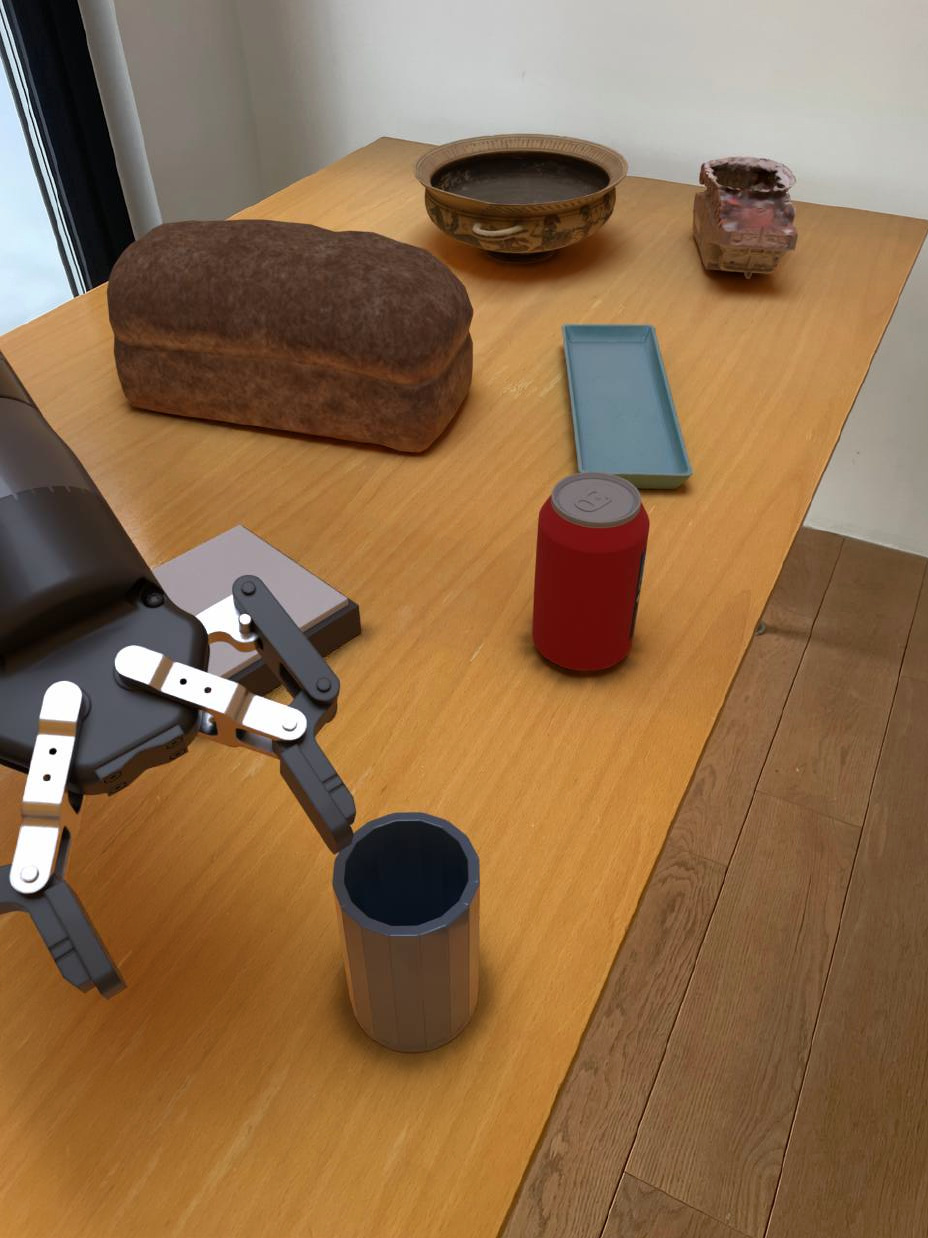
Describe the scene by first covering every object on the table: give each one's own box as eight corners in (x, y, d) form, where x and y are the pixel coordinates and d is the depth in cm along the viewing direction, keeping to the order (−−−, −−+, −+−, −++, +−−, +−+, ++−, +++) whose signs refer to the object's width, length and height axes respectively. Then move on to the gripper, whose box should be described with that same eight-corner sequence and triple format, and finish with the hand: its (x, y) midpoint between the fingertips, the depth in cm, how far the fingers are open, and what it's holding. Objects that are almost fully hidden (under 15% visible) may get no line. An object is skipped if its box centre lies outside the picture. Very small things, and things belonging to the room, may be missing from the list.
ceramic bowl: (451, 200, 133) (450, 118, 126) (633, 215, 128) (642, 131, 122) (383, 293, 111) (377, 199, 104) (599, 315, 106) (608, 219, 100)
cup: (412, 1081, 46) (403, 965, 39) (324, 992, 49) (302, 871, 43) (504, 989, 49) (510, 869, 43) (416, 912, 53) (409, 789, 46)
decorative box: (799, 237, 123) (817, 153, 116) (814, 307, 108) (836, 214, 101) (689, 231, 124) (700, 147, 118) (689, 299, 109) (703, 207, 103)
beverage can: (652, 645, 68) (676, 497, 60) (585, 695, 64) (602, 544, 56) (577, 598, 71) (590, 453, 64) (510, 643, 68) (515, 494, 60)
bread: (439, 466, 84) (435, 282, 74) (105, 410, 92) (59, 235, 81) (487, 385, 95) (490, 214, 84) (184, 340, 102) (152, 177, 92)
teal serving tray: (690, 496, 81) (695, 469, 79) (576, 495, 81) (579, 469, 80) (651, 347, 101) (654, 323, 99) (559, 346, 101) (561, 323, 99)
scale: (195, 738, 62) (186, 703, 60) (85, 639, 68) (73, 604, 66) (361, 632, 69) (358, 598, 67) (247, 551, 76) (241, 518, 74)
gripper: (-229, 587, 32) (-2, 1039, 27) (178, 414, 37) (425, 767, 33) (-142, 679, 39) (53, 1056, 34) (193, 521, 44) (401, 828, 39)
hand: (235, 914), depth 33 cm, fingers open, 8 cm apart
